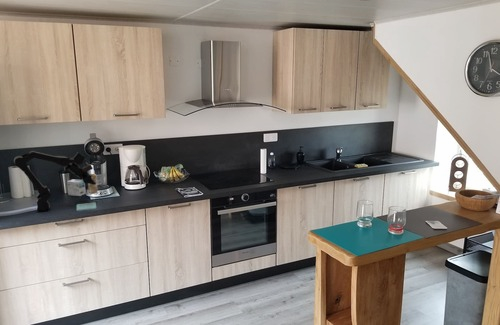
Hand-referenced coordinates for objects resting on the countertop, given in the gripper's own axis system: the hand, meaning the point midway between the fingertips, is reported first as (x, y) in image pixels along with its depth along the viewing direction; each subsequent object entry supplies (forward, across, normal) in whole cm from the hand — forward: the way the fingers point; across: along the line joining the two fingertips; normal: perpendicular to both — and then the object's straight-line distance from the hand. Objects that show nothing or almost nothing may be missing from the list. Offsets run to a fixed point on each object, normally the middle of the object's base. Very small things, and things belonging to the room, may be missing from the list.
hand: (94, 183), depth 267 cm
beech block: (+4, 0, +6) cm, 7 cm away
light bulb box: (+4, +26, +15) cm, 30 cm away
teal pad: (+4, -9, +15) cm, 18 cm away
